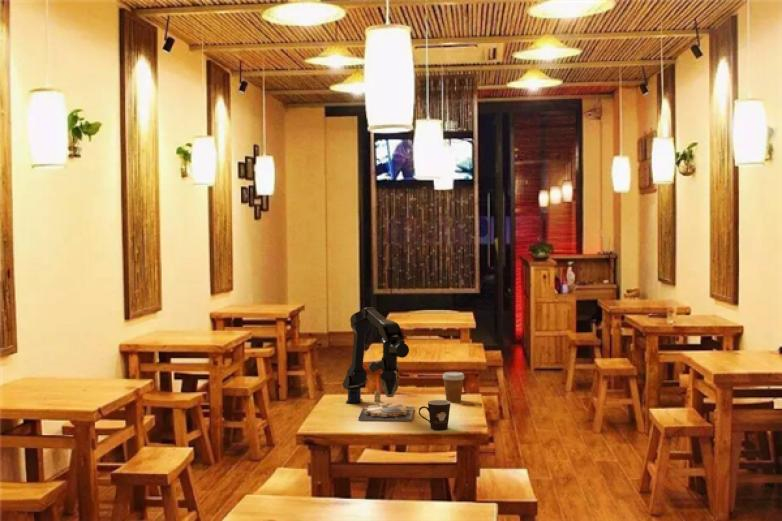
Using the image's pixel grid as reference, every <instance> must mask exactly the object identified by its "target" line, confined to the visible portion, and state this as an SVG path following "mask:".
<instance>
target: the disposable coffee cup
mask: <svg viewBox="0 0 782 521" xmlns="http://www.w3.org/2000/svg"><path fill="white" fill-rule="evenodd" d="M464 379H465V374H464V373H463V372H459V371H447V372H444V373H443V375H442V380H443V385H444V392H445V400H446V401H450V402H451V403H460V402H461V401H462V393H463V385H464Z"/></svg>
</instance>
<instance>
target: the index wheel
mask: <svg viewBox="0 0 782 521" xmlns="http://www.w3.org/2000/svg"><path fill="white" fill-rule="evenodd" d="M373 404H374V405H371V404H369V405H366V406H367V408H364V413H366V414H370V415H372V416H380V417H393V416H400V415H405V414H407V412H410V409H409V407H410V406H408V405H405V406H404V405H403V404H400V403H398V404H394V403H393V404H392V403H385V402H384V401H381V391H380V390H375V391H374V400H373Z"/></svg>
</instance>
